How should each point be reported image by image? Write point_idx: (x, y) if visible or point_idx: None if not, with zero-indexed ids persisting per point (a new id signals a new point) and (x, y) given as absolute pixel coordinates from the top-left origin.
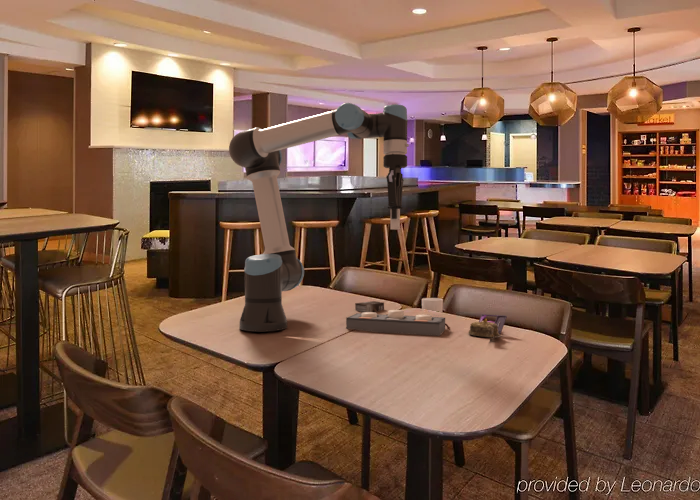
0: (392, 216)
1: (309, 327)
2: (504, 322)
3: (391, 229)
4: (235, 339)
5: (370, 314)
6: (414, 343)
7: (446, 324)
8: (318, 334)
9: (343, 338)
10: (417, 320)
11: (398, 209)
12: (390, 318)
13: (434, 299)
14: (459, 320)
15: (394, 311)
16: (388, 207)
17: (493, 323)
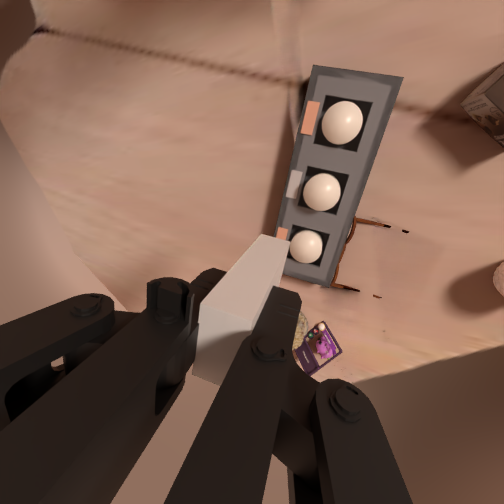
0: (199, 280)
1: None
2: (302, 365)
3: (283, 241)
4: None
5: (322, 129)
6: (205, 218)
7: (331, 284)
8: (256, 15)
9: (223, 89)
10: (278, 233)
11: (194, 367)
12: (300, 179)
13: None
14: (458, 324)
15: (310, 190)
16: (154, 287)
17: (292, 348)
